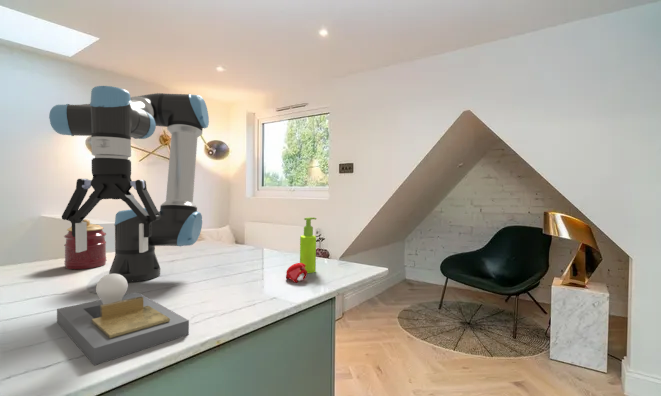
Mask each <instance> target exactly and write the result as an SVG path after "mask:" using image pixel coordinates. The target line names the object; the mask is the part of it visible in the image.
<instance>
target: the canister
mask: <svg viewBox="0 0 661 396" xmlns="http://www.w3.org/2000/svg"><path fill="white" fill-rule="evenodd" d="M83 220H84V221H81V222H87V250H85V251H82V252H76V238H75V237H73V236H72V225H71V226H70V227H69V228H67V229H66V231H68V232H67V233H66V234H65V235H63V237H64V238H65V243H64V266H65V267H64V268H65V269H67V270H87V269H93V268H99V267H102V266H105V265H106V262H107V253H106V252H107V251H106V250H107V248H106V247H107V241H106V240H105V239H106V235H107V233H106V232H105V231H103V230H104V227H103V226H101V225H99V224H95V223H92V224H91V222H90V220H89V219H86V218H84V219H83Z"/></svg>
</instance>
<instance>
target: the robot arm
mask: <svg viewBox="0 0 661 396" xmlns="http://www.w3.org/2000/svg"><path fill="white" fill-rule="evenodd" d="M90 91H91V92H90V102H89V103H85V104H69V103H66V104H56V105H54V106H53V107H51V109H50V111H49V117H48V119H49V123H50V126H51V128H52V130H54V131H55V132H56V133H57V134H59V135H63V136H71V137H77V136H84V137H85V136H86V137H87V136H88V137H90V136H91V137H90V139H91V140H90V141H91V143H90V144H91V155H92V156H94V157H92V159H91V174H92V179H88V178H77V180H76V186H75V189H74V191H73V193H72V196H71V197H70V198H69V201H68V203H67V205H66V207H65V209H64V210H63V213H62V215H61V219H62V220H63V221H69V222H70V223H71V226H72V236H73V237H75V238H76V252H82V251H85V250H87V222H82V221H84V220H85V219H86V217H87V216H88V215H89V214H90V213H91V212H92V210H94V208H95V207H96V206H97V205H98V204H99V202H101V201H103V200H111V199H112V200H121V201H122V202H124V203H125V204H126V205H127V206H128V207H129V208H130V209H125V210H119V211H118V212H116V214H115V217H114V224H113V225H114V251H115V253H114V258H113V260H112V263H111V266H110V267H109V269H110V270H109V272H108V274H120V275H122V276H123V277H124V278H125V279H126V280H127V283H134V282H135V283H136V282H142V281H148V280H151V279H155V278H158V277H159V276H160V275H161V266H160V263H159V261H158V257H157V255H156V252H155V251H156V250H155V247H188V246H190V247H191V246H192V245H194V244H195V243H197V241H198V239H199V238H200V235H201V232H202V226H203V215H202V213H201V212H200V211H199V210H198V206H197V205H196V204H195V203H194V194H195V193H194V191H195V190H194V189H195V178H196V177H195V176H196V166H197V165H196V161H197V151H198V149H197V148H198V138H199V137H201V136H202V135H203V129H207V128H208V127H209V123H210V121H209V120H210V119H209V111H208V107H207V104H206V101H205V99H204V98H203V97H202V96H201V95H199V94H191V93H188V94H182V93H160V92H159V93H158V92H157V93H150V94H143V95H142V94H141V95H137V96H136V95H135V96H131V94H130V92H129V91H128V90H126V89H124V88H122V87H116V86H111V85H96V86H94V87H92V89H91V90H90ZM156 127H164V128H165V127H166V129H167V131H168V133H170V134H171V135H170V137H171V138H170V148H169V159H168V169H167V171H168V173H167V181H166V195H165V196H166V197H165V201H164V202H163V203H162V204H160V206H159V208H160V209H159V210H158V209H157V206H156V205H155V203H154V201H153V199H152V197H151V195H150V193H149V191H148V189H147V182H146V180H144V179H136V180H132V178H131V177H132V161H131V159H129V158H130V157H132V145H131V144H132V141H131V140H132V138H133V139H134V140H135V139H136V140H137V139H139V140H145V139H148V138H150V137H152V135H154V133H155V131H156ZM90 188H92V189H93V191H92V193H91V194H90V195H89V196H88V199H87V200H86V201H85V202H84V199H85V197H86V195H87V193H88V191H89V189H90ZM132 188H134V190H136V193H137V195H138V197H139V199H140V201H141V202H142V204H140V202H139V201H138V200H137V199H136V198H135V196H134V195H133V193H132V192H131V191H130V190H131V189H132ZM83 202H84V203H83ZM142 205H143V206H144V207H143V206H142Z"/></svg>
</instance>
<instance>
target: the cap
mask: <svg viewBox="0 0 661 396" xmlns="http://www.w3.org/2000/svg"><path fill="white" fill-rule="evenodd" d="M305 266H306V265H305V264H303V263H300V262H297V263H294V264H292V265H290V266H288V268H287V270H286V272H285V273H286V275H285V278H286V279H287V280H291V281H292V282H293V283H298V282H299V281H298V279H299V278H300V276H301V275H302V274H303V277H302V280H303V281H304V280H306V278H307V276H308V273H307V271H306V269H305V268H304V267H305ZM300 270H301V271H300Z"/></svg>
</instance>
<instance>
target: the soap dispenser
mask: <svg viewBox="0 0 661 396" xmlns="http://www.w3.org/2000/svg"><path fill="white" fill-rule="evenodd" d="M303 220H304V221H306V222H305V226H303V235H302V234H301V235H300V239H299V240H300V241H299V244H300V245H299V263H303V264H305V265H306V266H305V267H304V268H305V269H306V271H307V274H311V273H312V274H313V273H316V269H317V267H316V266H317V265H316V263H317V261H316V260H317V258H316V257H317V236H316V235H313V234H314V227H313V226H312V225H311V223H312V222H311V221H312V220H317V218H316V217H310V216H309V217H308V216H307V217H304V218H303ZM300 271H301V270H300Z"/></svg>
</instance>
